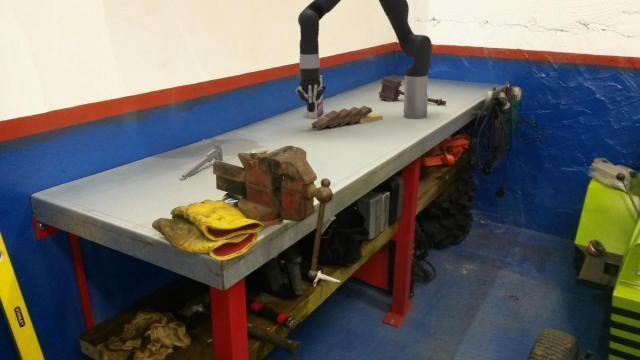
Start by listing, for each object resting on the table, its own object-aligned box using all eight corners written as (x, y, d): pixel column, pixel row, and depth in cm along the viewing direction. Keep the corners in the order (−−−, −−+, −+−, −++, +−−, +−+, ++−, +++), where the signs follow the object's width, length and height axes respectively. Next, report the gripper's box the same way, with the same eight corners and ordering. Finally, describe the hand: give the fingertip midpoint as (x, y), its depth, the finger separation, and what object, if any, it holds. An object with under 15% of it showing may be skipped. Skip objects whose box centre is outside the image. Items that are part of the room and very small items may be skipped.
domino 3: (334, 123, 205) (355, 110, 209) (341, 126, 201) (362, 112, 204) (332, 119, 204) (353, 106, 208) (339, 122, 200) (361, 108, 203)
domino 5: (353, 121, 210) (374, 117, 215) (360, 123, 205) (382, 119, 210) (353, 116, 209) (375, 113, 214) (360, 119, 205) (382, 115, 210)
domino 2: (323, 125, 203) (345, 112, 206) (330, 128, 199) (352, 114, 202) (322, 121, 202) (343, 108, 206) (329, 124, 198) (351, 110, 201)
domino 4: (344, 122, 208) (365, 109, 211) (351, 125, 203) (372, 111, 206) (342, 118, 207) (363, 105, 210) (349, 121, 202) (371, 107, 205)
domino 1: (312, 127, 201) (334, 114, 204) (319, 130, 196) (341, 116, 200) (311, 123, 200) (333, 110, 203) (318, 126, 195) (340, 112, 199)
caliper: (220, 160, 164) (218, 141, 162) (223, 160, 164) (221, 142, 162) (179, 181, 147) (176, 160, 145) (182, 181, 146) (180, 160, 144)
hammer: (383, 95, 252) (387, 75, 248) (445, 114, 238) (450, 94, 234) (377, 97, 247) (381, 77, 242) (440, 117, 233) (445, 96, 228)
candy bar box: (312, 112, 226) (311, 75, 220) (323, 112, 225) (322, 75, 219) (306, 118, 215) (305, 79, 210) (318, 118, 214) (317, 79, 209)
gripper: (320, 63, 195) (321, 108, 201) (289, 66, 189) (291, 112, 195) (330, 65, 189) (330, 111, 195) (298, 69, 183) (300, 116, 189)
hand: (311, 111), depth 195 cm, fingers closed
